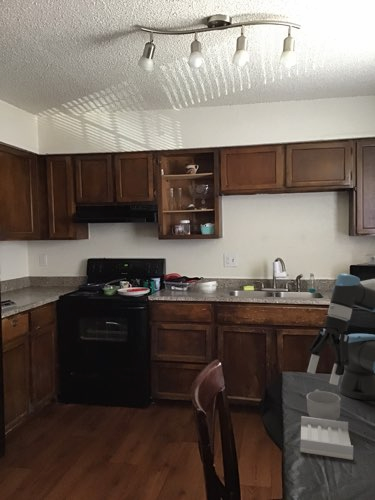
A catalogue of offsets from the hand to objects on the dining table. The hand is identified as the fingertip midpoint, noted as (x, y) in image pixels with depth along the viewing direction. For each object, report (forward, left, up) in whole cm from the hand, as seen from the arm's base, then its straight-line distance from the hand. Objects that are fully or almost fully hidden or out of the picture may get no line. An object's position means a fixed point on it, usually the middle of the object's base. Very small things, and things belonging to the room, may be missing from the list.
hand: (321, 378), depth 145 cm
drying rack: (+10, +16, -13) cm, 23 cm away
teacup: (+1, +2, -13) cm, 13 cm away
